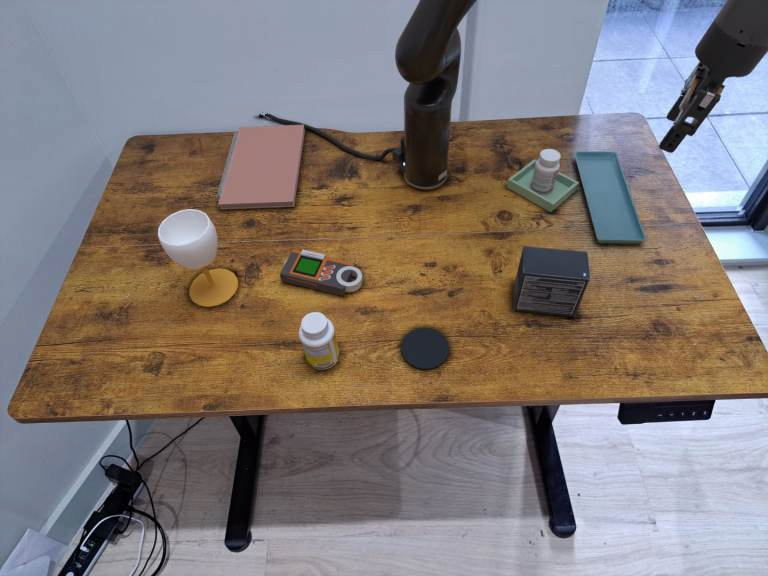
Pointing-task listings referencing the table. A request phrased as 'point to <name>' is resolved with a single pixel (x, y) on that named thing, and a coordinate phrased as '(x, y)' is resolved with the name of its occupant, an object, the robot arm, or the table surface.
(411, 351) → the coaster
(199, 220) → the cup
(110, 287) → the table surface
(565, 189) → the tray
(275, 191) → the notebook
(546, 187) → the pill bottle
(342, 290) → the electronic device
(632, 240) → the shallow long dish
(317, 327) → the supplement bottle
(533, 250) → the small box
